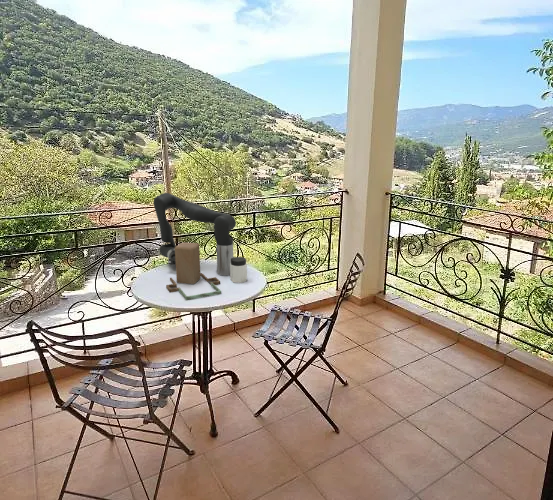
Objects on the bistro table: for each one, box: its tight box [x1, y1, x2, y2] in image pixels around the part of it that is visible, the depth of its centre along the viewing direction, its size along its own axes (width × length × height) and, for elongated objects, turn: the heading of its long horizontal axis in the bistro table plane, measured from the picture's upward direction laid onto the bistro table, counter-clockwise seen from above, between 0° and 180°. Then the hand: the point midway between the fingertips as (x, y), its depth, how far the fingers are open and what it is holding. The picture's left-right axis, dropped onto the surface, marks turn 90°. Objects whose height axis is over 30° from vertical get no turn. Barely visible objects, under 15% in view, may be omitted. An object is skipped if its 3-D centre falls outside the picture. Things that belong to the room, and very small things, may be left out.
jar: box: [229, 256, 248, 284], centre depth 208 cm, size 9×8×12 cm
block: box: [175, 242, 202, 285], centre depth 205 cm, size 10×10×20 cm
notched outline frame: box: [165, 272, 222, 301], centre depth 199 cm, size 26×30×2 cm
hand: (183, 264), depth 214 cm, fingers closed
